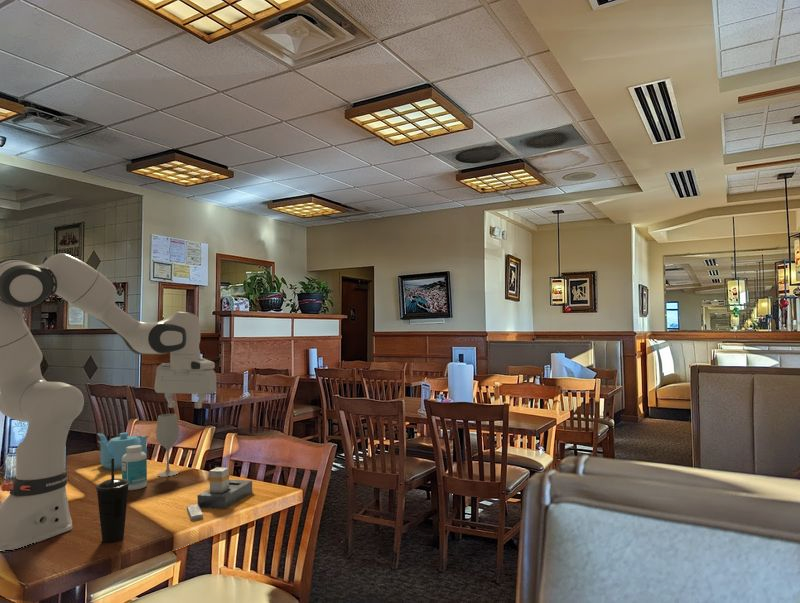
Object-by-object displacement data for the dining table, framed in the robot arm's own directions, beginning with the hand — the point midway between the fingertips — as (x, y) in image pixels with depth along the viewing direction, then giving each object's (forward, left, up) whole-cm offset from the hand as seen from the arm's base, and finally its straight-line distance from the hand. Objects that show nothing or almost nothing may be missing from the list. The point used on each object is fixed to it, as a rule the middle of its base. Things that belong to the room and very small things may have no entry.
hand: (184, 407), depth 174 cm
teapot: (+29, +48, -28) cm, 62 cm away
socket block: (-1, -14, -27) cm, 31 cm away
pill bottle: (+5, +23, -28) cm, 36 cm away
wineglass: (+21, +22, -28) cm, 41 cm away
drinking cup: (-34, -2, -28) cm, 44 cm away
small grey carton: (-4, -14, -27) cm, 31 cm away
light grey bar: (-14, -12, -28) cm, 34 cm away
